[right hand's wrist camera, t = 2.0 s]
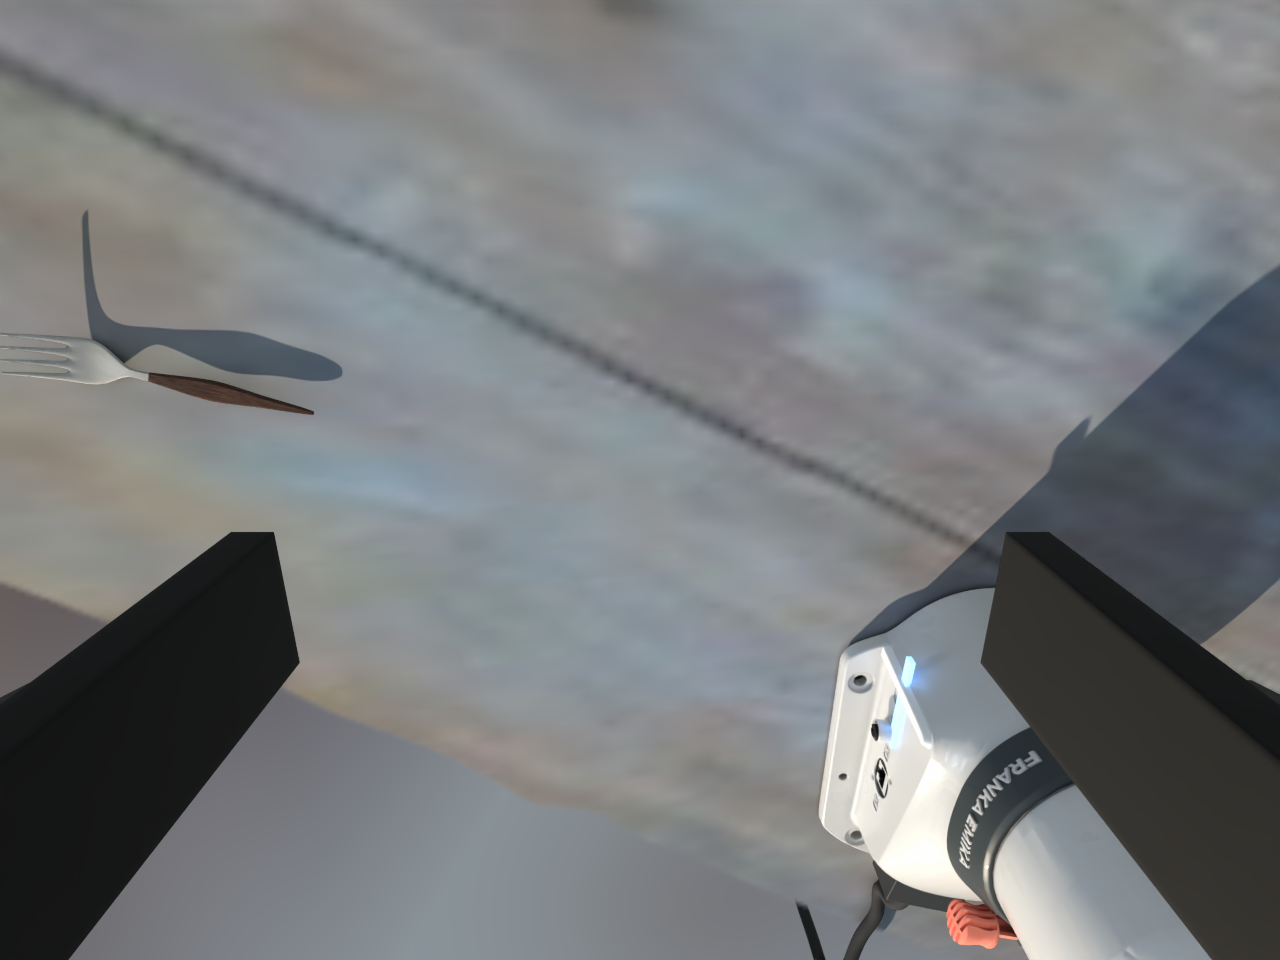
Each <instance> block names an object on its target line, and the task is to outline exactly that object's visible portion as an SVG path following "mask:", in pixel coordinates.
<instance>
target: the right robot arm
mask: <svg viewBox="0 0 1280 960" xmlns="http://www.w3.org/2000/svg"><path fill="white" fill-rule="evenodd" d="M299 663H300V662H299V657H298V652H297V647H296V642H295V636H294V631H293V626H292V621H291V616H290V611H289V606H288V601H287V596H286V591H285V586H284V581H283V576H282V571H281V566H280V561H279V556H278V551H277V546H276V541H275V535H274V532H231V533H229V534H228V535H227V536H225V537H224V538H223V539H221V540H220V541H219V542H217V543H216V544H215V545H213V546H212V547H211V548H209V549H208V550H207V551H205V552H204V553H203V554H201V555H200V556H199V557H197V558H196V559H195V560H193V561H192V562H191V563H189V564H188V565H187V566H185V567H184V568H183V569H181V570H180V571H179V572H177V573H176V574H175V575H173V576H172V577H171V578H169V579H168V580H166V581H165V582H164V583H162V584H161V585H160V586H158V587H157V588H156V589H154V590H153V591H152V592H150V593H149V594H148V595H146V596H145V597H144V598H142V599H141V600H140V601H138V602H137V603H136V604H134V605H133V606H132V607H130V608H129V609H128V610H126V611H125V612H124V613H122V614H121V615H120V616H118V617H117V618H116V619H114V620H113V621H112V622H110V623H109V624H108V625H106V626H105V627H104V628H102V629H101V630H100V631H99V632H97V633H96V634H94V635H93V636H92V637H90V638H89V639H88V640H86V641H85V642H84V643H82V644H81V645H80V646H78V647H77V648H76V649H74V650H73V651H72V652H70V653H69V654H68V655H66V656H65V657H64V658H62V659H61V660H60V661H58V662H57V663H56V664H54V665H53V666H52V667H50V668H49V669H48V670H46V671H45V672H44V673H42V674H41V675H40V676H38V677H37V678H36V679H34V680H33V681H32V682H30V683H28V684H26V685H24V686H22V687H20V688H18V689H16V690H14V691H12V692H10V693H8V694H7V695H4V696H2V697H1V698H0V960H69V958H70V957H71V956H72V954H73V953H74V952H75V951H76V949H77V948H78V947H79V945H80V944H81V943H82V942H83V940H84V939H85V938H86V936H87V935H88V934H89V933H90V931H91V930H92V929H93V927H94V926H95V925H96V924H97V922H98V921H99V920H100V918H101V917H102V916H103V915H104V913H105V912H106V911H107V909H108V908H109V907H110V906H111V904H112V903H113V902H114V900H115V899H116V898H117V897H118V895H119V894H120V893H121V891H122V890H123V889H124V888H125V886H126V885H127V884H128V882H129V881H130V880H131V879H132V877H133V876H134V875H135V874H136V872H137V871H138V870H139V868H140V867H141V866H142V865H143V863H144V862H145V861H146V859H147V858H148V857H149V855H150V854H151V853H152V852H153V850H154V849H155V848H156V847H157V845H158V844H159V843H160V841H161V840H162V839H163V838H164V836H165V835H166V834H167V832H168V831H169V830H170V829H171V827H172V826H173V825H174V823H175V822H176V821H177V820H178V818H179V817H180V816H181V814H182V813H183V812H184V811H185V809H186V808H187V807H188V805H189V804H190V803H191V802H192V800H193V799H194V798H195V796H196V795H197V794H198V793H199V791H200V790H201V789H202V787H203V786H204V785H205V784H206V782H207V781H208V780H209V779H210V777H211V776H212V775H213V773H214V772H215V771H216V770H217V768H218V767H219V766H220V764H221V763H222V762H223V761H224V759H225V758H226V757H227V755H228V754H229V753H230V752H231V750H232V749H233V748H234V746H235V745H236V744H237V742H238V741H239V740H240V739H241V737H242V736H243V735H244V734H245V732H246V731H247V730H248V728H249V727H250V726H251V725H252V723H253V722H254V721H255V719H256V718H257V717H258V716H259V714H260V713H261V712H262V710H263V709H264V708H265V707H266V705H267V704H268V703H269V701H270V700H271V699H272V698H273V696H274V695H275V694H276V692H277V691H278V690H279V689H280V687H281V686H282V685H283V683H284V682H285V681H286V680H287V678H288V677H289V676H290V674H291V673H292V672H293V671H294V669H295V668H296V667H297V666H298V664H299ZM980 663H981V664H982V666H983V667H984V668H985V669H986V671H987V672H988V673H989V674H990V676H991V677H992V678H993V680H994V681H995V682H996V683H997V685H998V686H999V687H1000V689H1001V690H1002V691H1003V692H1004V694H1005V695H1006V696H1007V698H1008V699H1009V700H1010V701H1011V703H1012V704H1013V705H1014V707H1015V708H1016V709H1017V710H1018V712H1019V713H1020V714H1021V716H1022V717H1023V718H1024V719H1025V721H1026V722H1027V723H1028V725H1029V726H1030V727H1031V728H1032V730H1033V731H1034V732H1035V734H1036V735H1037V736H1038V737H1039V739H1040V740H1041V741H1042V743H1043V744H1044V745H1045V746H1046V748H1047V749H1048V750H1049V752H1050V753H1051V754H1052V755H1053V757H1054V758H1055V759H1056V761H1057V762H1058V763H1059V764H1060V766H1061V767H1062V768H1063V770H1064V771H1065V772H1066V773H1067V775H1068V776H1069V777H1070V779H1071V780H1072V781H1073V782H1074V784H1075V785H1076V786H1077V787H1078V789H1079V790H1080V791H1081V793H1082V794H1083V795H1084V796H1085V798H1086V799H1087V800H1088V802H1089V803H1090V804H1091V805H1092V807H1093V808H1094V809H1095V811H1096V812H1097V813H1098V814H1099V816H1100V817H1101V818H1102V820H1103V821H1104V822H1105V823H1106V825H1107V826H1108V827H1109V829H1110V830H1111V831H1112V832H1113V834H1114V835H1115V836H1116V838H1117V839H1118V840H1119V841H1120V843H1121V844H1122V845H1123V847H1124V848H1125V849H1126V850H1127V852H1128V853H1129V854H1130V856H1131V857H1132V858H1133V859H1134V861H1135V862H1136V863H1137V865H1138V866H1139V867H1140V868H1141V870H1142V871H1143V872H1144V874H1145V875H1146V876H1147V877H1148V879H1149V880H1150V881H1151V883H1152V884H1153V885H1154V886H1155V888H1156V889H1157V890H1158V891H1159V893H1160V894H1161V895H1162V897H1163V898H1164V899H1165V900H1166V902H1167V903H1168V904H1169V906H1170V907H1171V908H1172V909H1173V911H1174V912H1175V913H1176V915H1177V916H1178V917H1179V918H1180V920H1181V921H1182V922H1183V924H1184V925H1185V926H1186V927H1187V929H1188V930H1189V931H1190V933H1191V934H1192V935H1193V936H1194V938H1195V939H1196V940H1197V942H1198V943H1199V944H1200V945H1201V947H1202V948H1203V949H1204V951H1205V952H1206V953H1207V954H1208V956H1209V957H1210V958H1211V960H1280V694H1278V693H1276V692H1274V691H1272V690H1270V689H1268V688H1266V687H1264V686H1262V685H1260V684H1258V683H1256V682H1254V681H1252V680H1246V679H1244V678H1243V677H1242V676H1240V675H1239V674H1238V673H1236V672H1235V671H1234V670H1232V669H1231V668H1230V667H1228V666H1227V665H1226V664H1224V663H1223V662H1222V661H1220V660H1219V659H1218V658H1216V657H1215V656H1214V655H1212V654H1211V653H1210V652H1208V651H1207V650H1206V649H1204V648H1203V647H1202V646H1200V645H1199V644H1198V643H1196V642H1195V641H1194V640H1192V639H1191V638H1190V637H1188V636H1187V635H1186V634H1184V633H1183V632H1182V631H1180V630H1179V629H1178V628H1176V627H1175V626H1174V625H1172V624H1171V623H1170V622H1168V621H1167V620H1166V619H1164V618H1163V617H1162V616H1160V615H1159V614H1158V613H1156V612H1155V611H1154V610H1152V609H1151V608H1150V607H1148V606H1147V605H1146V604H1144V603H1143V602H1142V601H1140V600H1139V599H1138V598H1136V597H1135V596H1134V595H1132V594H1131V593H1130V592H1128V591H1127V590H1126V589H1124V588H1123V587H1122V586H1120V585H1119V584H1118V583H1116V582H1115V581H1114V580H1112V579H1111V578H1109V577H1108V576H1107V575H1105V574H1104V573H1103V572H1101V571H1100V570H1099V569H1097V568H1096V567H1095V566H1093V565H1092V564H1091V563H1089V562H1088V561H1087V560H1085V559H1084V558H1083V557H1081V556H1080V555H1079V554H1077V553H1076V552H1075V551H1073V550H1072V549H1071V548H1069V547H1068V546H1067V545H1065V544H1064V543H1063V542H1061V541H1060V540H1059V539H1057V538H1056V537H1055V536H1053V535H1052V534H1051V533H1049V532H1006V535H1005V541H1004V546H1003V551H1002V556H1001V561H1000V566H999V571H998V576H997V581H996V586H995V591H994V596H993V601H992V606H991V611H990V616H989V621H988V626H987V631H986V636H985V642H984V647H983V652H982V657H981V662H980Z"/></svg>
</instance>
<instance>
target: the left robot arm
mask: <svg viewBox="0 0 1280 960" xmlns="http://www.w3.org/2000/svg"><path fill="white" fill-rule="evenodd" d="M994 591H995V588H982V589H974V590H969V591H964V592H960V593H957V594H953V595H950V596H947V597H945V598H942V599H940V600H938V601H935V602H933V603H931V604H929V605H927V606H926V607H924V608H922V609H920V610H919V611H917V612H916V613H914V614H913V615H912V616H910V617H909V618H908V619H906V620H905V621H903V622H902V623H901V624H899V625H898V626H897V627H895V628H893V629H892V630H890V631H888V632H887V633H884V634H880V635H877V636H874V637H870V638H867V639H864V640H861V641H859V642H856V643H854V644H852V645H850V646H849V647H848V648H846V649H845V650H844V652H843V653H842V655H841V658H840V663H839V670H838V677H837V684H836V691H835V698H834V705H833V712H832V719H831V726H830V733H829V740H828V747H827V754H826V761H825V768H824V775H823V782H822V789H821V796H820V804H819V818H820V820H821V822H822V824H823V826H824V828H825V829H826V830H828V831H829V832H830V833H831V834H832V835H834V836H835V837H836V838H838V839H839V840H841V841H843V842H845V843H846V844H848V845H850V846H853V847H855V848H857V849H860V850H862V851H865V852H868V853H870V854H871V856H872V857H873V859H874V861H873V865H874V868H875V871H876V873H877V876H878V879H879V880H878V881H876V882H875V883H874V885H873V888H872V904H871V908H870V910H869V912H868V914H867V915H866V917H865V918H864V920H863V921H862V922H861V924H860V925H859V926H858V928H857V929H856V931H855V933H854V935H853V937H852V939H851V941H850V944H849V946H848V949H847V951H846V954H845V957H844V959H843V960H859V957H860V954H861V952H862V950H863V947H864V945H865V943H866V942H867V940H868V938H869V937H870V935H871V934H872V933H873V931H874V930H875V929H876V928H877V926H878V925H879V923H880V921H881V919H882V917H883V914H884V908H885V905H886V906H887V907H888V908H890V909H891V910H902V909H904V908H906V907H907V906H908V905H914V906H919V907H923V908H928V909H933V910H938V911H943V912H947V918H948V922H947V925H948V928H950V935H951V936H953V940H954V941H955V942H958V944H963V945H975V944H978V945H982V946H984V947H986V948H990V949H991V948H993V947H995V946H996V945H997V943H998V940H999V937H1002V938H1008V939H1014V940H1017V942H1018V944H1019V945H1020V946H1022V947H1023V949H1024V951H1025V952H1026V954H1027V956H1028V958H1029V960H1211V958H1210V957H1209V956H1208V954H1207V953H1206V952H1205V951H1204V949H1203V948H1202V947H1201V945H1200V944H1199V943H1198V942H1197V940H1196V939H1195V938H1194V936H1193V935H1192V934H1191V933H1190V931H1189V930H1188V929H1187V927H1186V926H1185V925H1184V924H1183V922H1182V921H1181V920H1180V918H1179V917H1178V916H1177V915H1176V913H1175V912H1174V911H1173V909H1172V908H1171V907H1170V906H1169V904H1168V903H1167V902H1166V900H1165V899H1164V898H1163V897H1162V895H1161V894H1160V893H1159V891H1158V890H1157V889H1156V888H1155V886H1154V885H1153V884H1152V883H1151V881H1150V880H1149V879H1148V877H1147V876H1146V875H1145V874H1144V872H1143V871H1142V870H1141V868H1140V867H1139V866H1138V865H1137V863H1136V862H1135V861H1134V859H1133V858H1132V857H1131V856H1130V854H1129V853H1128V852H1127V850H1126V849H1125V848H1124V847H1123V845H1122V844H1121V843H1120V841H1119V840H1118V839H1117V838H1116V836H1115V835H1114V834H1113V832H1112V831H1111V830H1110V829H1109V827H1108V826H1107V825H1106V823H1105V822H1104V821H1103V820H1102V818H1101V817H1100V816H1099V814H1098V813H1097V812H1096V811H1095V809H1094V808H1093V807H1092V805H1091V804H1090V803H1089V802H1088V800H1087V799H1086V798H1085V796H1084V795H1083V794H1082V793H1081V791H1080V790H1079V789H1078V787H1077V786H1076V785H1075V784H1074V782H1073V781H1072V780H1071V779H1070V777H1069V776H1068V775H1067V773H1066V772H1065V771H1064V770H1063V768H1062V767H1061V766H1060V764H1059V763H1058V762H1057V761H1056V759H1055V758H1054V757H1053V755H1052V754H1051V753H1050V752H1049V750H1048V749H1047V748H1046V746H1045V745H1044V744H1043V743H1042V741H1041V740H1040V739H1039V737H1038V736H1037V735H1036V734H1035V732H1034V731H1033V730H1032V728H1031V727H1030V726H1029V725H1028V723H1027V722H1026V721H1025V719H1024V718H1023V717H1022V716H1021V714H1020V713H1019V712H1018V710H1017V709H1016V708H1015V707H1014V705H1013V704H1012V703H1011V701H1010V700H1009V699H1008V698H1007V696H1006V695H1005V694H1004V692H1003V691H1002V690H1001V689H1000V687H999V686H998V685H997V683H996V682H995V681H994V680H993V678H992V677H991V676H990V674H989V673H988V672H987V671H986V669H985V668H984V667H983V666H982V664H981V663H980V662H981V657H982V652H983V647H984V642H985V636H986V631H987V626H988V621H989V616H990V611H991V606H992V601H993V596H994ZM858 675H863V676H862V677H861V678H860V679H854V678H855V677H856V676H858ZM964 900H974V901H983V902H984V903H985V904H986V905H985V904H981V905H972V904H970V903H967V902H965V901H964ZM796 906H797V909H798V912H799V915H800V918H801V921H802V924H803V927H804V930H805V933H806V936H807V939H808V942H809V946H810V949H811V952H812V956H813V959H814V960H826V959H825V956H824V953H823V949H822V946H821V943H820V940H819V937H818V934H817V931H816V928H815V925H814V922H813V920H812V917H811V914H810V911H809V908H808V906H807V905H803V904H801V903H798V902H796ZM994 912H995V913H996V914H997V915H996V914H995V913H994Z"/></svg>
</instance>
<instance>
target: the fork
mask: <svg viewBox="0 0 1280 960" xmlns="http://www.w3.org/2000/svg"><path fill="white" fill-rule="evenodd" d="M0 335H3V336H12V337H20V338H28V339H36V340H43V341H51V342H58V343H63V344H65V345H67V348H63V349H57V348H35V347H5V346H0V348H5V349H14V350H22V351H30V352H39V353H47V354H55V355H61V356H65V357H67V358H68V360H66V361H46V360H13V359H1V360H0V361H7V362H17V363H26V364H34V365H43V366H52V367H59V368H64V369H67V370H68V373H31V372H1V374H11V375H21V376H31V377H40V378H50V379H59V380H66V381H73V382H79V383H86V384H103V383H108V382H111V381H114V380H117V379H120V378H123V377H135V378H139V379H143V380H146V381H149V382H152V383H155V384H158V385H161V386H164V387H167V388H170V389H173V390H176V391H179V392H182V393H185V394H188V395H191V396H194V397H198V398H201V399H205V400H209V401H214V402H220V403H227V404H234V405H243V406H251V407H259V408H266V409H273V410H280V411H287V412H294V413H301V414H310V415H314V412H313V411H311V410H308V409H305V408H302V407H299V406H296V405H292V404H289V403H286V402H282V401H279V400H275V399H272V398H269V397H265V396H262V395H259V394H256V393H253V392H250V391H247V390H243V389H240V388H237V387H234V386H231V385H228V384H224V383H221V382H217V381H212V380H206V379H199V378H192V377H184V376H175V375H166V374H157V373H149V372H142V371H137V370H134V369H131V368H130V367H128V366H127V365H125V364H124V363H123V362H122V361H121V360H120V359H118V358H117V357H116V356H115V355H114V354H113V353H112V352H111V351H110V350H109V349H108V348H106V347H105V346H104V345H102V344H100V343H98V342H96V341H94V340H91V339H87V338H80V337H64V336H49V335H30V334H6V333H0Z"/></svg>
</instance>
